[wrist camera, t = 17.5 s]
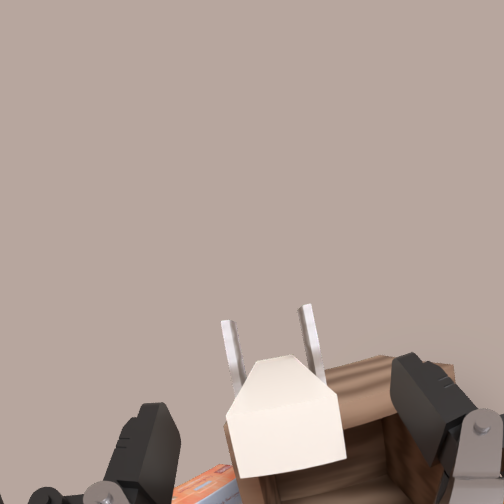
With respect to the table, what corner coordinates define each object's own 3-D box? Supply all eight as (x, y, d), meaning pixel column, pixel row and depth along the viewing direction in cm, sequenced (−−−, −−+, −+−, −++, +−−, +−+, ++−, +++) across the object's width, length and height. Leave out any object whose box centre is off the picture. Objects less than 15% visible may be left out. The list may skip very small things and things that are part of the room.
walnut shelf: (438, 595, 10) (433, 265, 21) (287, 637, 10) (202, 316, 21) (396, 533, 28) (367, 295, 38) (285, 561, 28) (233, 324, 38)
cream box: (346, 458, 10) (336, 394, 11) (240, 478, 10) (225, 415, 11) (296, 377, 35) (292, 354, 36) (260, 384, 35) (256, 361, 36)
